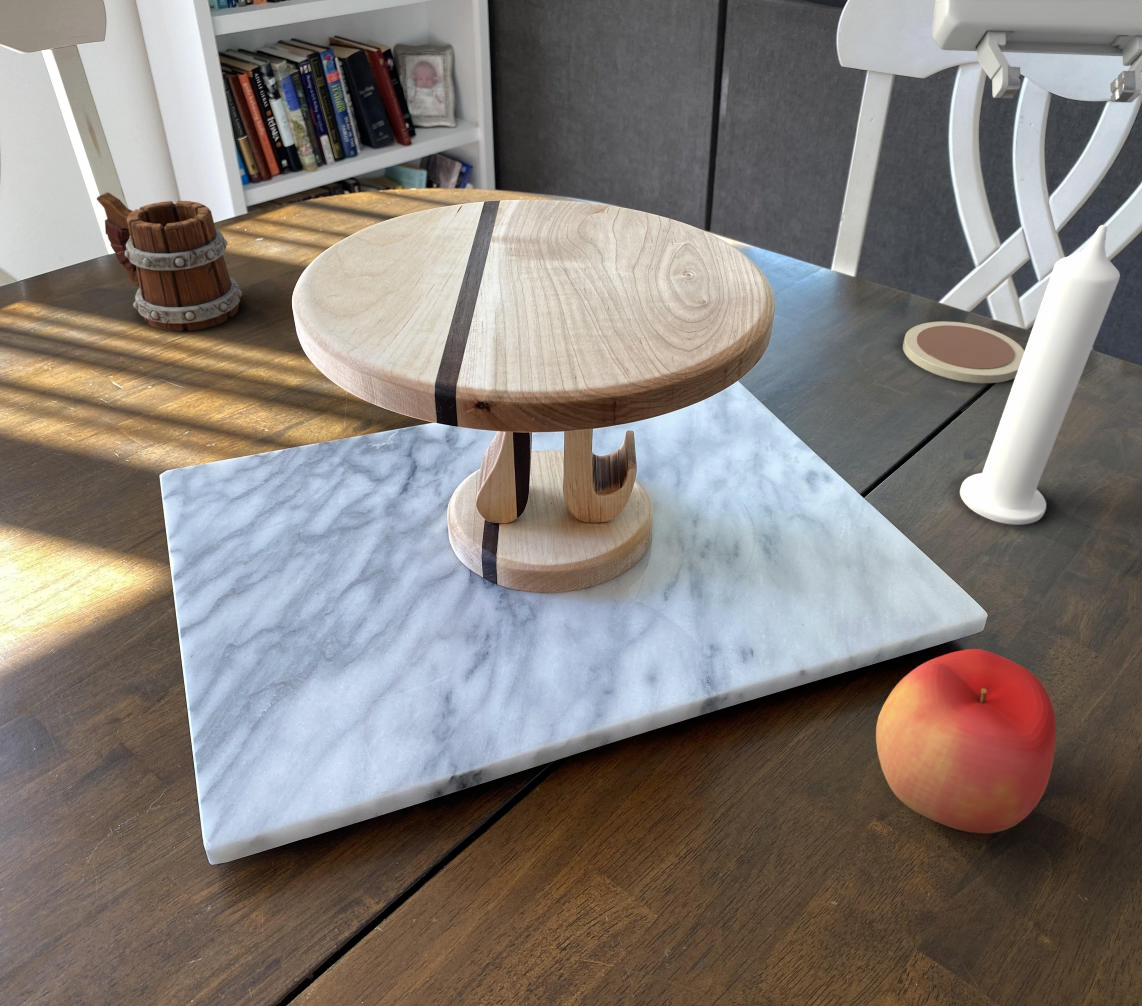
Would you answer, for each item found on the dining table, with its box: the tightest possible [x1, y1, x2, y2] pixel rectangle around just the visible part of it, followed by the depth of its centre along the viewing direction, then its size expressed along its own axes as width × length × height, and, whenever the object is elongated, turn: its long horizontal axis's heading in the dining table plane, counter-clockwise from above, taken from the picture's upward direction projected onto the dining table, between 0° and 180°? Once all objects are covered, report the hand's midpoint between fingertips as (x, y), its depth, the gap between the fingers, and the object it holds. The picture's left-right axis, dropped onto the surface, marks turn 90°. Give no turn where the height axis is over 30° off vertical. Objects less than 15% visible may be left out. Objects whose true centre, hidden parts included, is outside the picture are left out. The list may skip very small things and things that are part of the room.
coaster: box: [902, 320, 1025, 384], centre depth 105 cm, size 13×13×1 cm
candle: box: [959, 224, 1121, 526], centre depth 75 cm, size 7×7×25 cm
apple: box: [875, 648, 1057, 834], centre depth 54 cm, size 10×10×10 cm
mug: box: [96, 191, 243, 332], centre depth 106 cm, size 12×14×15 cm
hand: (1066, 96), depth 74 cm, fingers open, 8 cm apart
